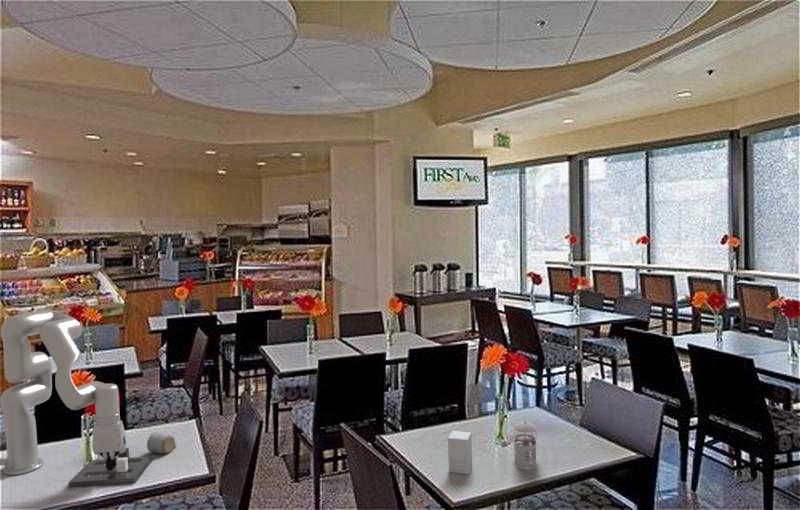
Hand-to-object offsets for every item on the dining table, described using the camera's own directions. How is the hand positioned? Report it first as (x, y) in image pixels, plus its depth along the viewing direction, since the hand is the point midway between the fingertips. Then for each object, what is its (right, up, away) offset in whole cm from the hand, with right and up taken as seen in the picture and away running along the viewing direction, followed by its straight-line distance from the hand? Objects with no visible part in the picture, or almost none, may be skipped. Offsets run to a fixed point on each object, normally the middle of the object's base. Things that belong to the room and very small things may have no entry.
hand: (111, 468), depth 202 cm
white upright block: (+4, -1, +1) cm, 4 cm away
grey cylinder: (+9, -2, +23) cm, 25 cm away
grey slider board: (-1, -3, +3) cm, 5 cm away
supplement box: (+126, -1, +1) cm, 126 cm away
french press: (+151, 0, +5) cm, 151 cm away
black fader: (0, 0, +9) cm, 9 cm away
